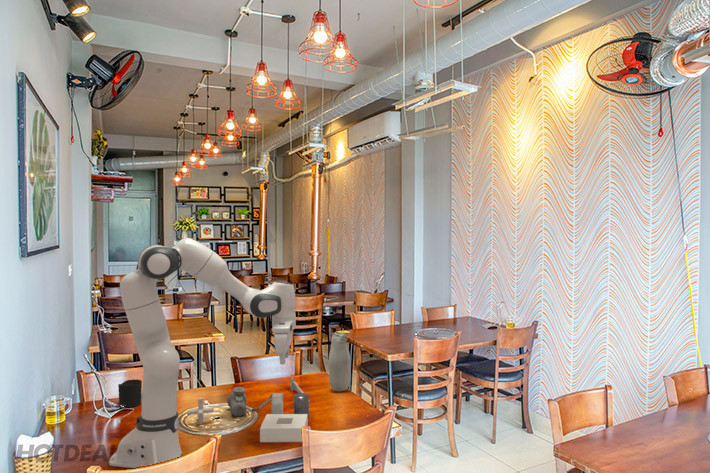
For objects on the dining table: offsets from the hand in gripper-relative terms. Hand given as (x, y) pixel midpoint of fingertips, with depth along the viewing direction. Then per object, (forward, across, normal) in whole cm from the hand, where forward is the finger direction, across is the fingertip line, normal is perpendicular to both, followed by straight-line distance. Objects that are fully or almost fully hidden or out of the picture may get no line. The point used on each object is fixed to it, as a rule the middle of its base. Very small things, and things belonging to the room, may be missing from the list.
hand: (284, 360), depth 183 cm
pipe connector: (+28, -11, -35) cm, 46 cm away
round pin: (+28, -16, +4) cm, 33 cm away
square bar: (+28, -15, -5) cm, 32 cm away
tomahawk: (+28, -34, -12) cm, 46 cm away
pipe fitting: (+28, -23, -23) cm, 43 cm away
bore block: (+28, 0, 0) cm, 28 cm away
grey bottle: (+28, -51, +20) cm, 62 cm away
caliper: (+28, -44, +1) cm, 53 cm away
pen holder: (+28, -33, -73) cm, 85 cm away
